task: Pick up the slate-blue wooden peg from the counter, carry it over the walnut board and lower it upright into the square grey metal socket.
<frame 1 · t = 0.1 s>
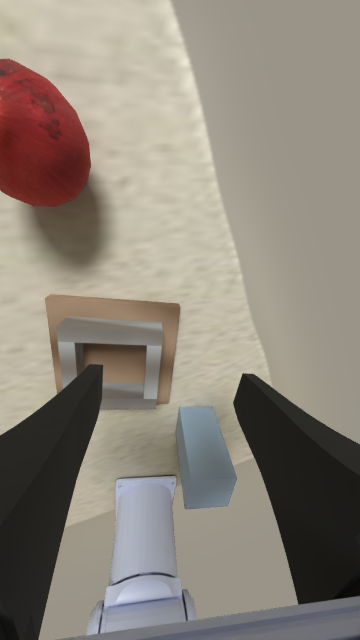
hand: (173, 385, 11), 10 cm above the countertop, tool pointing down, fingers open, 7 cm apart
onion: (59, 164, 15), on the countertop
socket board: (117, 352, 21), on the countertop
peg: (193, 419, 26), on the countertop
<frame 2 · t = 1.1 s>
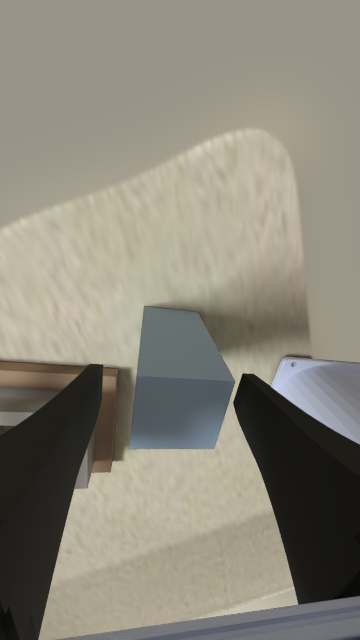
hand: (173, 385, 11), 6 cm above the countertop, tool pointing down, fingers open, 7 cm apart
socket board: (48, 418, 18), on the countertop
peg: (167, 333, 17), on the countertop
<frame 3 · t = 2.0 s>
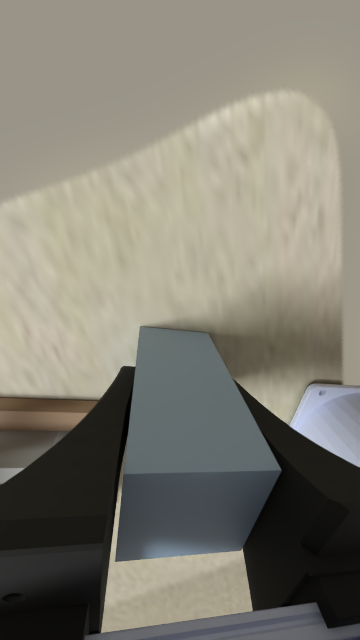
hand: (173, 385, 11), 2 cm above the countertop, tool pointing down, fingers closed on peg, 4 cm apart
socket board: (23, 459, 15), on the countertop
peg: (170, 359, 13), on the countertop, touching gripper
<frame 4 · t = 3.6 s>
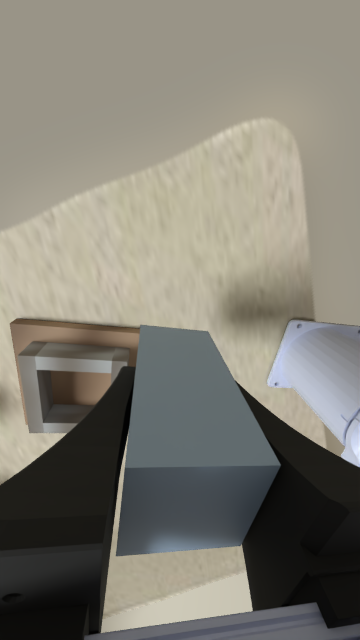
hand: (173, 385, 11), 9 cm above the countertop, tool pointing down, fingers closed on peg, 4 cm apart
socket board: (86, 375, 21), on the countertop
peg: (170, 357, 13), point 7 cm above the countertop, touching gripper
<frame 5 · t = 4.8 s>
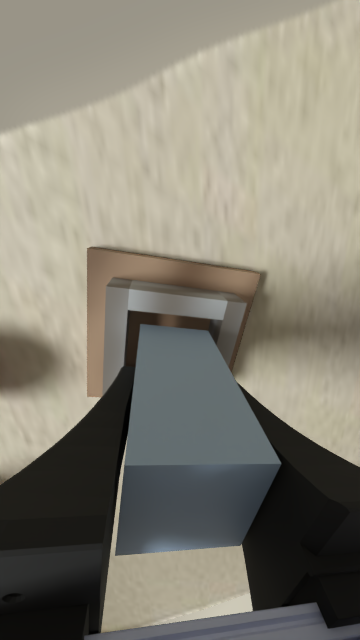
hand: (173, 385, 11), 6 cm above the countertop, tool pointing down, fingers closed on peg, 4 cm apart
socket board: (166, 333, 16), on the countertop
peg: (170, 356, 13), point 3 cm above the countertop, touching gripper
when the fingers open (5 cm above the countertop, at t = 5.4 s): peg drops 1 cm, resting on socket board.
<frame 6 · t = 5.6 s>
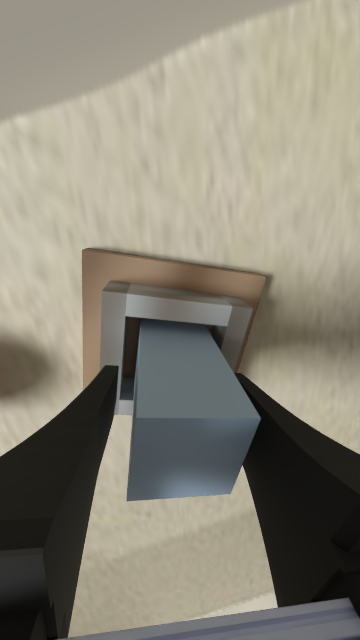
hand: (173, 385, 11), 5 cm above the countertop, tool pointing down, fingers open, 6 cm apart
socket board: (167, 339, 16), on the countertop
peg: (168, 345, 15), point 1 cm above the countertop, touching socket board
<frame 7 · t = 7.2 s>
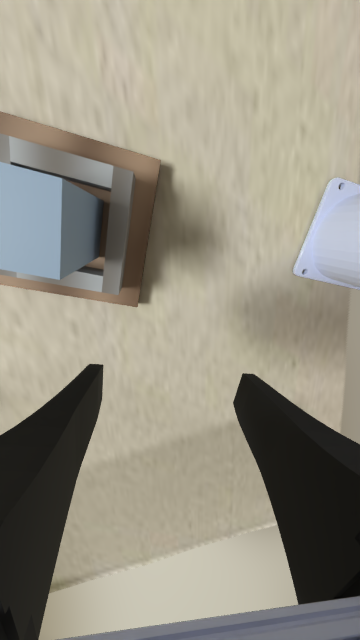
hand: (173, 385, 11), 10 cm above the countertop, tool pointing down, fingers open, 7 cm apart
socket board: (77, 225, 17), on the countertop
peg: (72, 223, 16), point 1 cm above the countertop, touching socket board
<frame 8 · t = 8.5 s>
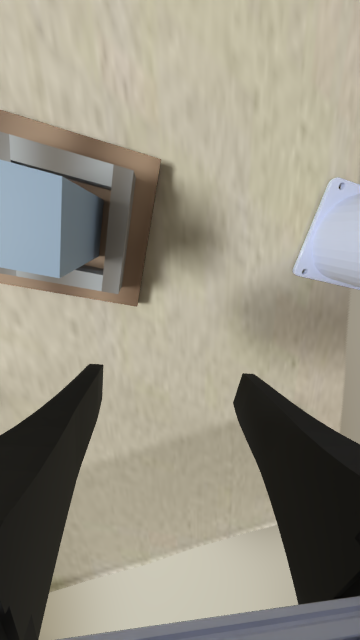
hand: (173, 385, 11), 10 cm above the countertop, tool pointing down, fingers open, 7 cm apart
socket board: (77, 224, 17), on the countertop
peg: (72, 222, 16), point 1 cm above the countertop, touching socket board
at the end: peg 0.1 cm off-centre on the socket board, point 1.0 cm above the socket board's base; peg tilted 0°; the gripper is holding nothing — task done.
